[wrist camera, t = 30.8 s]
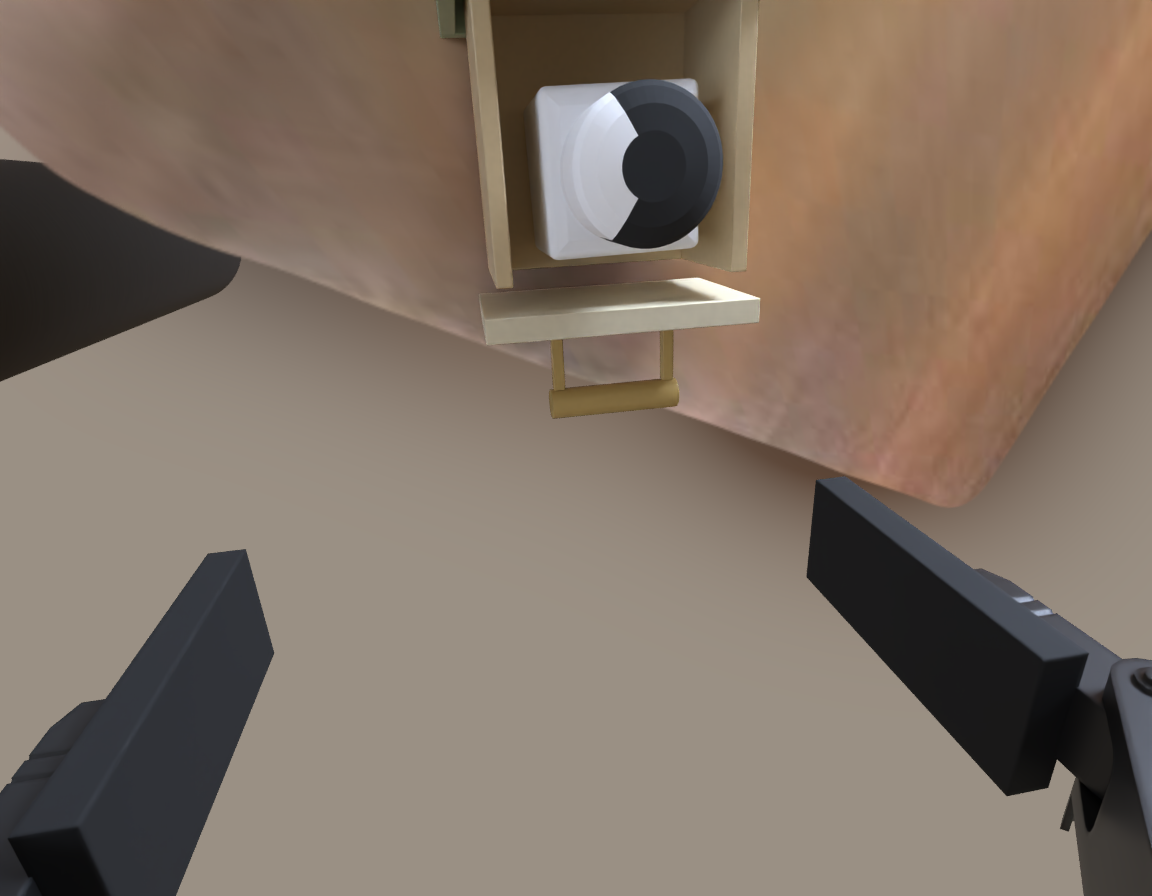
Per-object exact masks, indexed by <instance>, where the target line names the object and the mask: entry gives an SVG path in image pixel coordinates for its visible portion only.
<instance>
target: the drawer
mask: <svg viewBox="0 0 1152 896" xmlns="http://www.w3.org/2000/svg"><path fill="white" fill-rule="evenodd" d="M463 9H464V19H465V29H466V40H467V50H468V61H469V71H470V81H471V92H472V102H473V113H474V123H475V133H476V144H477V154H478V165H479V175H480V185H481V196H482V206H483V217H484V227H485V237H486V248H487V258H488V269H489V271H490V274H491V276H492V279H493V281H494V283H495V286H496V288H497V289H506V288H513V274H512V270H522V269H536V268H551V267H565V266H580V265H594V264H609V263H623V262H638V261H652V260H667V259H681V258H682V259H685V260H689V261H693V262H696V263H700V264H704V265H707V266H711V267H714V268H718V269H722V270H725V271H729V272H741V271H746V264H747V243H748V222H749V201H750V180H751V159H752V138H753V116H754V95H755V74H756V53H757V32H758V11H759V0H463ZM686 78H691V79H694V80H695V81H696V82H697V83H698V99H699V100H700V101H701V102H702V104H703V105H704V106H705V107H706V109H707V110H708V111H709V113H710V115H711V116H712V118H713V120H714V122H715V124H716V127H717V129H718V132H719V136H720V139H721V144H722V151H723V171H722V179H721V183H720V187H719V190H718V193H717V196H716V199H715V201H714V203H713V205H712V207H711V209H710V210H709V212H708V213H707V215H706V216H705V218H704V219H703V220H702V221H701V222H700V224H699V225H698V243H697V245H696V246H695V247H693V248H688V249H677V250H666V251H655V252H644V253H633V254H622V255H611V256H599V257H588V258H577V259H566V260H555V259H553V258H552V257H550V256H548V255H547V254H545V253H544V252H542V251H541V250H539V249H538V248H537V247H536V245H535V237H534V226H533V215H532V203H531V192H530V181H529V170H528V159H527V148H526V137H525V126H524V115H523V114H524V110H525V109H526V107H527V106H528V104H529V103H530V102H531V100H532V99H533V98H534V96H535V95H536V94H537V92H538V91H539V90H540V88H542V87H544V86H559V85H577V84H595V83H613V82H631V81H637V80H644V79H656V80H668V79H686ZM479 302H480V312H481V318H482V324H483V329H484V334H485V340H486V345H487V346H489V345H501V344H512V343H524V342H536V341H548V340H550V348H551V363H552V379H553V388H554V389H550V391H549V402H550V411H551V416H552V418H553V419H555V418H565V417H574V416H585V415H594V414H604V413H614V412H624V411H634V410H644V409H654V408H664V407H673V406H677V405H678V402H679V387H678V383H677V381H676V379H675V378H673V330H678V329H690V328H702V327H714V326H726V325H737V324H749V323H758V322H759V310H760V298H757V297H754V296H751V295H748V294H745V293H742V292H739V291H736V290H733V289H731V288H728V287H725V286H722V285H719V284H716V283H713V282H710V281H707V280H704V279H701V278H686V279H672V280H659V281H645V282H631V283H618V284H604V285H591V286H577V287H563V288H550V289H536V290H522V291H509V292H495V293H481V294H479ZM654 331H660V378H661V379H654V380H643V381H633V382H622V383H612V384H601V385H591V386H581V387H570V388H565V374H564V357H563V339H572V338H583V337H595V336H607V335H619V334H631V333H643V332H654Z"/></svg>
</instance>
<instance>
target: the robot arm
mask: <svg viewBox="0 0 1152 896" xmlns="http://www.w3.org/2000/svg"><path fill="white" fill-rule="evenodd" d="M807 578H808V579H809V580H810V581H811V582H812V584H813V585H814V586H815V587H816V588H817V589H818V590H819V591H820V592H821V593H822V594H823V596H824V597H826V599H827V600H828V601H829V602H830V603H831V604H832V605H833V606H834V608H835V609H836V610H837V611H838V612H839V613H840V614H841V615H842V616H843V617H844V619H845V620H846V621H847V622H848V623H849V624H850V625H851V626H852V627H853V628H854V629H855V631H856V632H857V633H858V634H859V635H860V636H861V637H862V638H863V639H864V640H865V641H866V643H867V644H868V645H869V646H870V647H871V648H872V649H873V650H874V651H875V652H876V653H877V654H878V656H879V657H880V658H881V659H882V660H883V661H884V662H885V663H886V664H887V666H888V667H889V668H890V669H891V670H892V671H893V672H894V673H895V674H896V675H897V677H899V679H900V680H901V681H902V682H903V683H904V684H905V685H906V686H907V688H908V689H909V690H910V691H911V692H912V693H913V694H914V695H915V696H916V697H917V698H918V700H919V701H920V702H921V703H922V704H923V705H924V706H925V707H926V708H927V709H928V710H929V712H930V713H931V714H932V715H933V716H934V717H935V718H936V719H937V720H938V721H939V723H940V724H941V725H942V726H943V727H944V728H945V729H946V730H947V731H948V732H949V733H950V735H951V736H952V737H953V738H954V739H955V740H956V741H957V742H958V743H959V744H960V746H962V748H963V749H964V750H965V751H966V752H967V753H968V754H969V755H970V756H971V757H972V759H973V760H974V761H975V762H976V763H977V764H978V765H979V766H980V767H981V769H982V770H983V771H984V772H985V773H986V774H987V775H988V776H989V777H990V778H991V779H992V780H993V782H994V783H995V784H996V785H997V786H998V787H999V788H1000V789H1001V790H1002V791H1003V793H1004V794H1005V795H1006V796H1010V795H1015V794H1020V793H1025V792H1030V791H1035V790H1039V789H1045V788H1048V786H1049V783H1050V780H1051V777H1052V773H1053V770H1054V767H1055V764H1056V760H1058V761H1060V762H1061V763H1062V764H1063V765H1064V766H1065V767H1066V768H1067V769H1068V770H1069V771H1070V772H1072V774H1073V775H1074V776H1075V777H1076V778H1075V781H1074V785H1073V787H1072V791H1071V794H1070V797H1069V800H1068V803H1067V806H1066V809H1065V812H1064V815H1063V818H1062V823H1061V827H1060V829H1063V830H1065V831H1069V829H1070V826H1071V823H1072V821H1075V829H1076V837H1077V845H1078V852H1079V861H1080V869H1081V877H1082V885H1083V893H1084V896H1152V660H1146V659H1139V658H1132V659H1121V658H1120V657H1118V656H1117V655H1116V654H1114V653H1113V652H1111V651H1110V650H1108V649H1107V648H1106V647H1104V646H1103V645H1101V644H1100V643H1098V642H1097V641H1096V640H1094V639H1093V638H1091V637H1090V636H1088V635H1087V634H1086V633H1084V632H1083V631H1081V630H1080V629H1078V628H1077V627H1075V626H1074V625H1073V624H1071V623H1070V622H1068V621H1067V620H1065V619H1064V618H1063V617H1061V616H1060V615H1058V614H1057V613H1056V614H1053V613H1052V610H1051V609H1050V608H1048V607H1047V606H1045V605H1044V604H1042V603H1041V602H1040V601H1038V600H1035V601H1034V599H1033V597H1032V596H1031V595H1030V594H1028V593H1027V592H1025V591H1024V590H1022V589H1021V588H1020V587H1018V586H1017V585H1015V584H1014V583H1012V582H1011V581H1009V580H1007V579H1004V578H1002V577H1000V576H997V575H995V574H993V573H990V572H988V571H986V570H984V569H972V568H971V567H970V566H968V565H967V564H965V563H964V562H963V561H961V560H960V559H958V558H957V557H956V556H954V555H953V554H952V553H950V552H949V551H947V550H946V549H945V548H943V547H942V546H941V545H939V544H938V543H936V542H935V541H934V540H932V539H931V538H929V537H928V536H927V535H925V534H924V533H922V532H921V531H920V530H918V529H917V528H916V527H914V526H913V525H911V524H910V523H909V522H907V521H906V520H905V519H903V518H902V517H900V516H899V515H898V514H896V513H895V512H894V511H892V510H891V509H889V508H888V507H887V506H885V505H884V504H883V503H881V502H880V501H878V500H877V499H876V498H874V497H873V496H871V495H870V494H869V493H867V492H866V491H865V490H863V489H862V488H860V487H859V486H858V485H856V484H855V483H854V482H852V481H851V480H849V479H848V478H846V477H837V478H829V479H820V480H816V485H815V495H814V506H813V516H812V526H811V537H810V547H809V557H808V568H807ZM273 655H274V650H273V647H272V643H271V639H270V636H269V632H268V629H267V625H266V621H265V618H264V614H263V611H262V607H261V603H260V600H259V596H258V592H257V589H256V585H255V581H254V578H253V574H252V570H251V567H250V563H249V560H248V556H247V552H246V549H243V550H235V551H227V552H218V553H210V554H207V556H206V557H205V559H204V560H203V561H202V563H201V564H200V566H199V567H198V569H197V570H196V571H195V573H194V574H193V576H192V577H191V578H190V580H189V581H188V583H187V584H186V586H185V587H184V588H183V590H182V591H181V593H180V594H179V595H178V597H177V598H176V600H175V601H174V603H173V604H172V605H171V607H170V608H169V610H168V611H167V612H166V614H165V615H164V617H163V618H162V620H161V621H160V623H159V624H158V625H157V627H156V628H155V629H154V631H153V632H152V634H151V635H150V637H149V638H148V639H147V641H146V642H145V644H144V645H143V647H142V648H141V649H140V651H139V652H138V654H137V655H136V657H135V658H134V659H133V661H132V662H131V664H130V665H129V666H128V668H127V669H126V671H125V672H124V674H123V675H122V676H121V678H120V679H119V681H118V682H117V683H116V685H115V686H114V688H113V689H112V691H111V692H110V693H109V695H108V696H107V698H106V699H103V700H96V701H90V702H83V703H81V704H79V705H78V706H77V707H76V708H74V709H73V710H72V711H71V712H69V713H68V714H67V715H66V716H64V717H63V718H62V719H61V720H60V721H58V722H57V723H56V724H55V725H53V726H52V727H51V728H50V729H49V730H48V732H47V733H46V734H45V735H44V737H43V738H42V739H41V741H40V742H39V743H38V744H37V746H36V747H35V748H34V750H33V751H32V752H31V754H30V755H29V760H27V761H24V763H23V764H22V765H21V767H20V768H19V769H18V770H17V772H16V773H15V774H14V776H13V777H12V782H11V783H10V784H7V785H6V786H5V787H4V789H3V790H2V791H1V793H0V896H176V894H177V891H178V889H179V886H180V884H181V881H182V879H183V877H184V874H185V872H186V869H187V867H188V864H189V862H190V859H191V857H192V854H193V852H194V850H195V847H196V845H197V842H198V840H199V837H200V835H201V832H202V830H203V827H204V825H205V822H206V820H207V817H208V815H209V813H210V810H211V808H212V805H213V803H214V800H215V798H216V795H217V793H218V790H219V788H220V785H221V783H222V781H223V778H224V776H225V773H226V771H227V768H228V766H229V763H230V761H231V758H232V756H233V753H234V751H235V748H236V746H237V744H238V741H239V738H240V736H241V733H242V731H243V729H244V726H245V724H246V721H247V719H248V716H249V714H250V711H251V709H252V707H253V704H254V702H255V699H256V697H257V694H258V692H259V689H260V686H261V684H262V682H263V679H264V677H265V674H266V672H267V670H268V667H269V665H270V662H271V659H272V657H273Z"/></svg>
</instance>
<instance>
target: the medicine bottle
mask: <svg viewBox="0 0 1152 896" xmlns="http://www.w3.org/2000/svg"><path fill="white" fill-rule="evenodd" d="M523 115H524V126H525V137H526V148H527V159H528V170H529V181H530V192H531V203H532V215H533V226H534V237H535V245H536V247H537V248H538V249H539V250H541V251H542V252H544V253H545V254H547V255H548V256H550V257H552V258H553V259H555V260H566V259H577V258H588V257H599V256H611V255H622V254H633V253H644V252H655V251H666V250H677V249H688V248H693V247H695V246H696V245H697V243H698V225H699V224H700V222H701V221H702V220H703V219H704V218H705V216H706V215H707V213H708V212H709V210H710V209H711V207H712V205H713V203H714V201H715V199H716V196H717V193H718V190H719V187H720V183H721V179H722V171H723V151H722V144H721V139H720V136H719V132H718V129H717V127H716V124H715V122H714V120H713V118H712V116H711V115H710V113H709V111H708V110H707V109H706V107H705V106H704V105H703V104H702V102H701V101H700V100H699V99H698V83H697V82H696V81H695V80H694V79H691V78H686V79H668V80H656V79H644V80H637V81H631V82H613V83H595V84H577V85H559V86H544V87H542V88H540V90H539V91H538V92H537V94H536V95H535V96H534V98H533V99H532V100H531V102H530V103H529V104H528V106H527V107H526V109H525V110H524V114H523Z"/></svg>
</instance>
